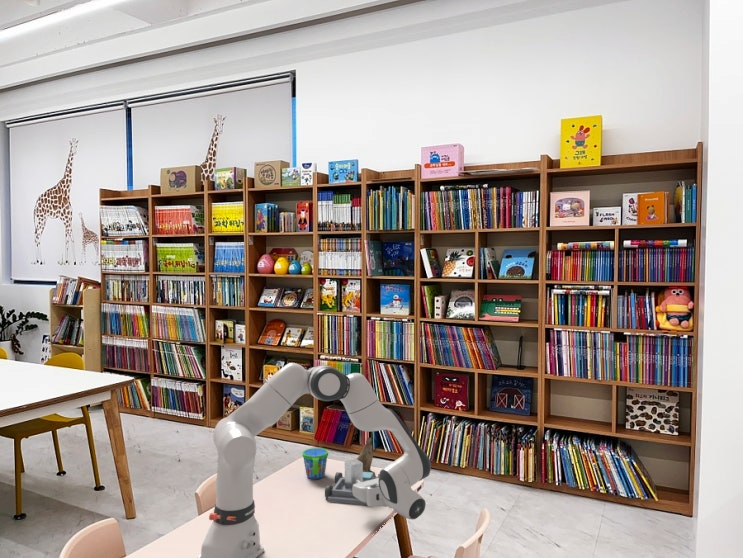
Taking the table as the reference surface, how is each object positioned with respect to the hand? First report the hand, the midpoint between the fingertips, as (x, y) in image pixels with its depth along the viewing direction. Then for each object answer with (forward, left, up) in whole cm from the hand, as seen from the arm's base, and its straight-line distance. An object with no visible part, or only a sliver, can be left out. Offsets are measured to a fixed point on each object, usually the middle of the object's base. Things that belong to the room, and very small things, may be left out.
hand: (368, 478), depth 200 cm
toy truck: (+9, +7, -10) cm, 15 cm away
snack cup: (+21, +27, -10) cm, 36 cm away
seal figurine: (+27, +9, -10) cm, 31 cm away
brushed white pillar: (+7, +7, -8) cm, 13 cm away
